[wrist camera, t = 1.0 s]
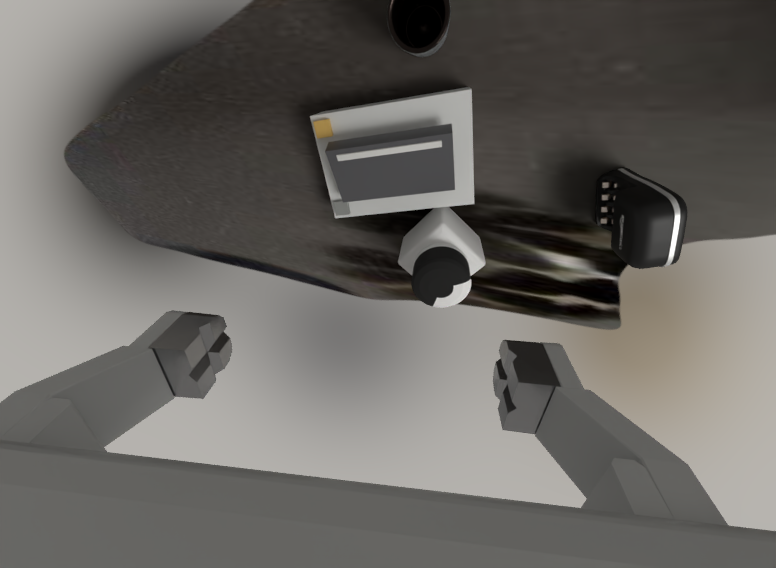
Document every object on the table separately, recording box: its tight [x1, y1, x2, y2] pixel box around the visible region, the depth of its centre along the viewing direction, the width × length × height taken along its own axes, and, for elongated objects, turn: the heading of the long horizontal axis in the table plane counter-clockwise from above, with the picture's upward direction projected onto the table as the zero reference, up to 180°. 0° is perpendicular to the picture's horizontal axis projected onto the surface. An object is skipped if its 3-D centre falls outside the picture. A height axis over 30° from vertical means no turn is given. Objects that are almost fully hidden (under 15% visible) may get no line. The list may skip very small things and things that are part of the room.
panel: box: [310, 87, 474, 218], centre depth 37 cm, size 16×11×5 cm
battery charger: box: [595, 168, 687, 269], centre depth 34 cm, size 7×4×11 cm, turn 15°
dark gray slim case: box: [325, 123, 455, 203], centre depth 34 cm, size 12×6×2 cm, turn 99°
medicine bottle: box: [398, 207, 485, 307], centre depth 39 cm, size 7×7×12 cm
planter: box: [387, 0, 451, 57], centre depth 28 cm, size 4×4×10 cm
